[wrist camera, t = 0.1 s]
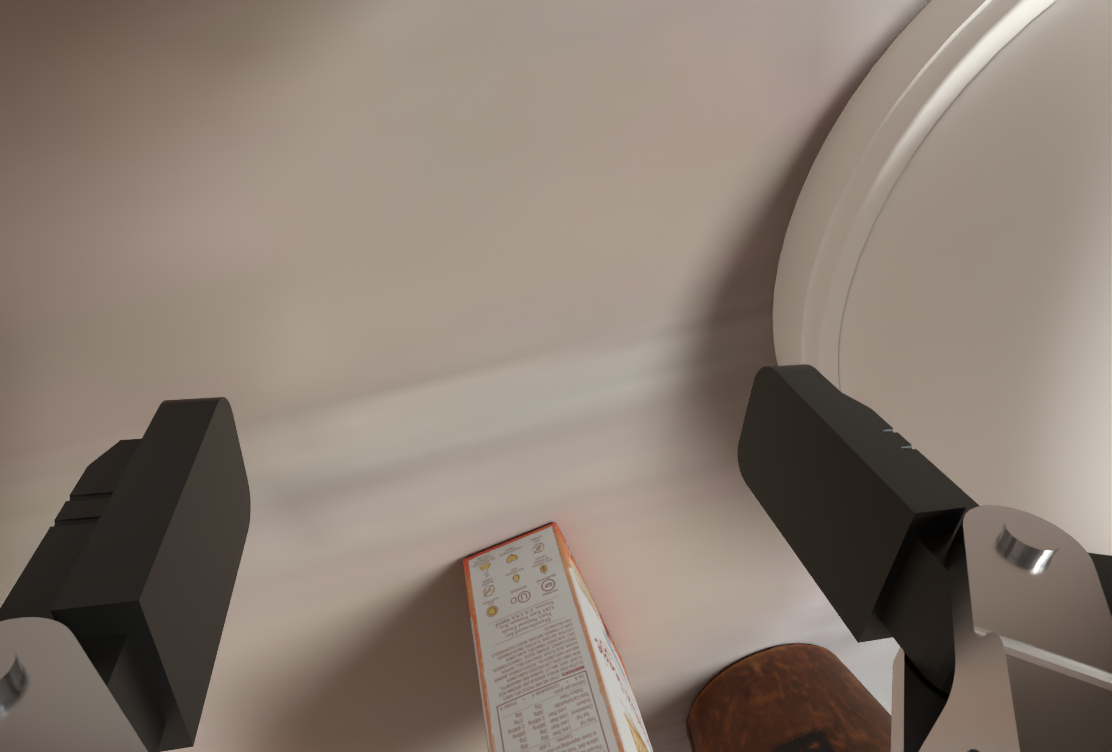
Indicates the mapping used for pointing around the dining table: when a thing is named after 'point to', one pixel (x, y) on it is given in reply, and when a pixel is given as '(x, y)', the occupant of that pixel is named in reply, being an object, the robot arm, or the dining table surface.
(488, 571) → the cracker box
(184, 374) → the dining table surface
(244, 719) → the dining table surface
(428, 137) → the dining table surface
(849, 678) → the brown plant pot
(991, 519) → the robot arm
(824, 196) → the dome cover
